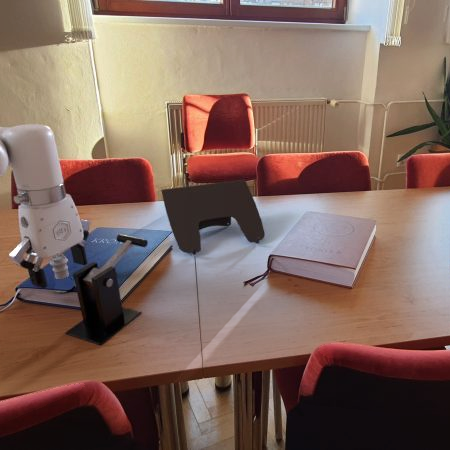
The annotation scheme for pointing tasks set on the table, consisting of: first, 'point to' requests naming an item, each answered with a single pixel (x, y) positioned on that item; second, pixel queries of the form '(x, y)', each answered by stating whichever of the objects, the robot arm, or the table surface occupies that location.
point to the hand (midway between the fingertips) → (61, 274)
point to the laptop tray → (211, 211)
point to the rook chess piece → (60, 267)
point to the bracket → (100, 306)
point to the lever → (115, 256)
